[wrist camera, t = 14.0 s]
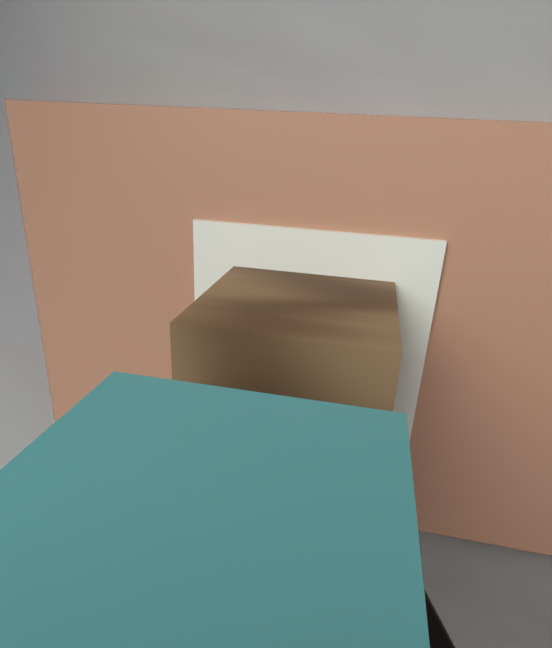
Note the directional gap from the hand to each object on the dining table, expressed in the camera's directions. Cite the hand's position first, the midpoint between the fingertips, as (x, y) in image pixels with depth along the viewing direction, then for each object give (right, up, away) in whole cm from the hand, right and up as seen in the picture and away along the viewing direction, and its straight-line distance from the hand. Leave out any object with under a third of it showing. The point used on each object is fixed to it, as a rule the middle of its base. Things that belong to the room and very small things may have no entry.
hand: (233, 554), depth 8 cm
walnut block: (+2, +3, +8) cm, 8 cm away
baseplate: (+2, +4, +9) cm, 10 cm away
